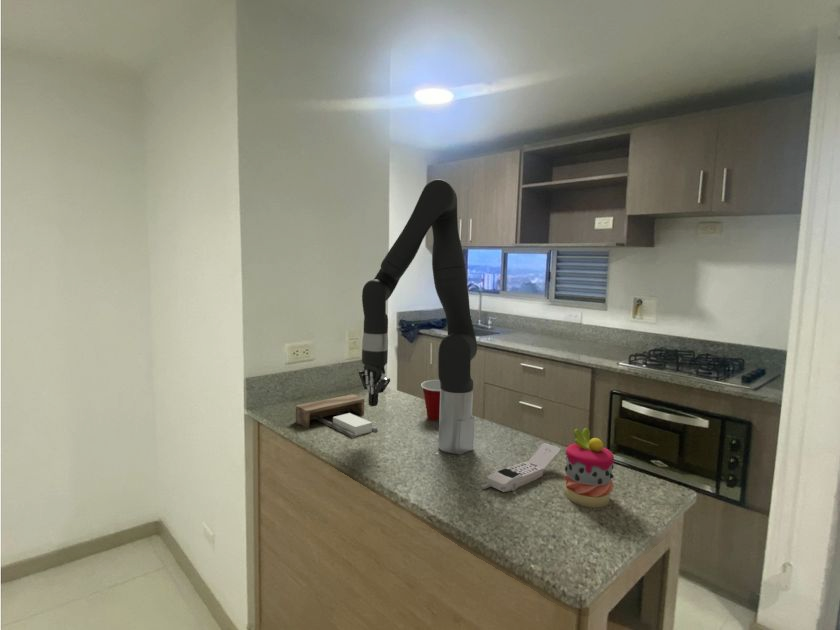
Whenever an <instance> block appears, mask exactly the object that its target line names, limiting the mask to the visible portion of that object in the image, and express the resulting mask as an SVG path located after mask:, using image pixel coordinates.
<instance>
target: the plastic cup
mask: <svg viewBox="0 0 840 630" xmlns="http://www.w3.org/2000/svg"><path fill="white" fill-rule="evenodd" d="M420 386H421V388H422V391H423V397H424V402H425V409H426V415H427V416H426V417H427V419H429V420H431V421H439V412H440V380H439V379H429V380H425V381H423V382H421V384H420Z"/></svg>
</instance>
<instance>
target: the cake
mask: <svg viewBox="0 0 840 630" xmlns="http://www.w3.org/2000/svg"><path fill="white" fill-rule="evenodd" d="M573 433H574V437H575V438H576V439H574V443H572V444H569V445H567V447H566V450H565V457H566V462H565V464H566V465H565V467H564V470H565V474H564V475H562V478H564V480H565V483H564V496H565V497H566V499H568V500H569V501H570V502H572V503H575V504H576V505H579V506H583V507H586V508H587V507H588V508H603V507H605V506H608V505H609V503H610V501H611V500H610V498H611V497H610V496H611V492H612V491H613V489H614V483H613V482H614V481H613V480H612V479H613V478H614V475H613V470H614V463H615V462H614V461H615V459H614V458H615V456H614V454H613V452H612V451H611V450H610V449H608V448H606V447H604V442H603V441H602V440H601V439H600V438H598V437H593V438H590V436H591V432H590V429H589V428H587V427H585V428H583V430H582V431H581V430H580V429H579V428H576V429H574V430H573Z"/></svg>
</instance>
